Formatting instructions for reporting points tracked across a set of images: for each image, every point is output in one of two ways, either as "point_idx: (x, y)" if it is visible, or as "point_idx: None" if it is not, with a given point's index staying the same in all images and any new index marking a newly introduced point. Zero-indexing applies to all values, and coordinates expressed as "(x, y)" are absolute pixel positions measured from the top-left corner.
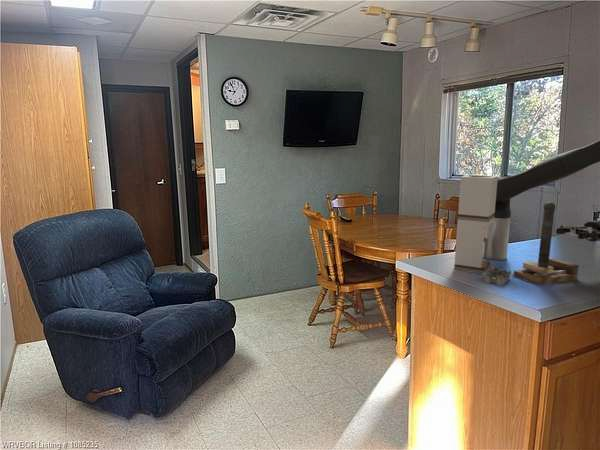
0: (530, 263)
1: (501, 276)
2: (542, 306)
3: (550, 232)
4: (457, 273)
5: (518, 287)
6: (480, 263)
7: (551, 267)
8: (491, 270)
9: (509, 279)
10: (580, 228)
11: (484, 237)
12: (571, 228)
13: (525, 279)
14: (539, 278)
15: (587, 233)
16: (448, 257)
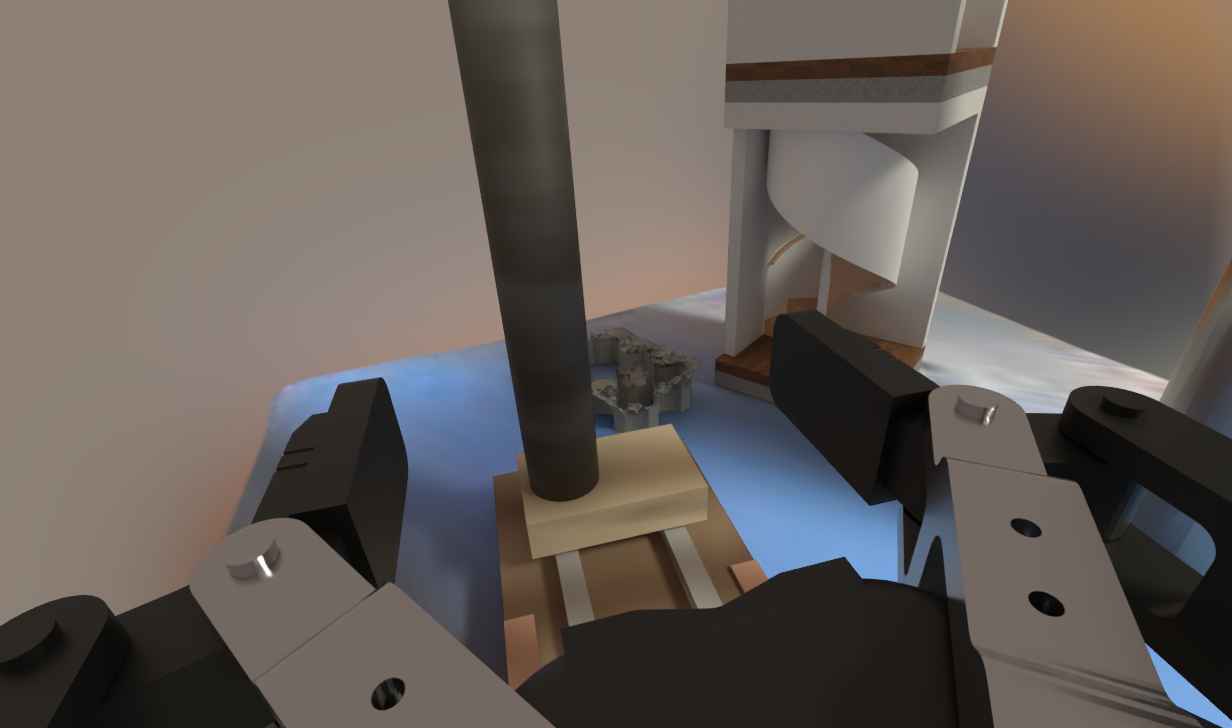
0: (646, 446)
1: None
2: (285, 404)
3: (483, 210)
4: (717, 329)
5: (498, 419)
6: (726, 331)
7: (525, 513)
8: (657, 357)
9: (616, 430)
10: (904, 685)
11: (778, 211)
12: (926, 499)
13: None
14: (505, 480)
15: (297, 518)
16: (1019, 353)
